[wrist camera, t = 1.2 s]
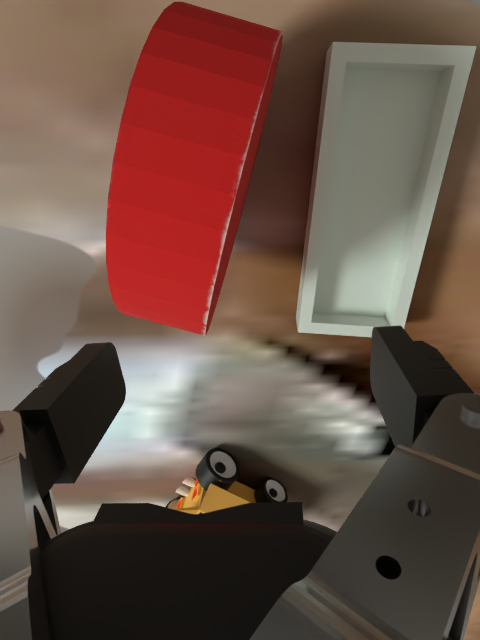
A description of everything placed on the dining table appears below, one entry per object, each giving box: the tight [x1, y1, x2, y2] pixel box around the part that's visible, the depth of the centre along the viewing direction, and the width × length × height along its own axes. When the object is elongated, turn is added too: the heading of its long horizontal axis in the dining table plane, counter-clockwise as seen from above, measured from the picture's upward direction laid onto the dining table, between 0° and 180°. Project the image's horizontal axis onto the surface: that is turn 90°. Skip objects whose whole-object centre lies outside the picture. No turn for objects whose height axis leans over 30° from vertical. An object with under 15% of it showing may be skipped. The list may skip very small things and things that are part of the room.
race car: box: [166, 448, 288, 514], centre depth 50 cm, size 15×15×11 cm
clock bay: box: [296, 42, 477, 337], centre depth 35 cm, size 10×24×4 cm, turn 178°
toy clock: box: [106, 2, 283, 335], centre depth 27 cm, size 20×6×20 cm, turn 166°
